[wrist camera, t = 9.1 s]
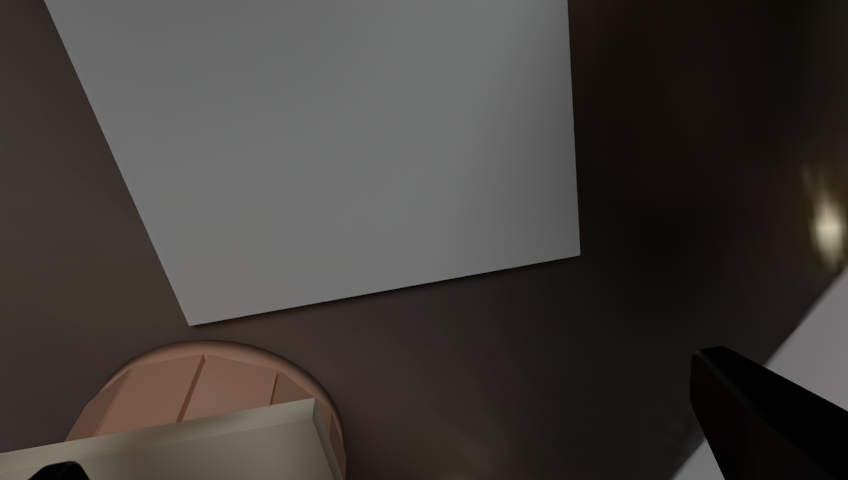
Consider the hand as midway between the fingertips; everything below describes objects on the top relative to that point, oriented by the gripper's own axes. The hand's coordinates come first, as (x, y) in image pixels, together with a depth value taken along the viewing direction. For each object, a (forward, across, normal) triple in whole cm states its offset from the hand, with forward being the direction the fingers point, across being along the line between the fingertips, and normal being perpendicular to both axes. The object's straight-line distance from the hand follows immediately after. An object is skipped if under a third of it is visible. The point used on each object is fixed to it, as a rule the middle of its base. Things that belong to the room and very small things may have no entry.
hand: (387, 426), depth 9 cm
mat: (+12, +1, -2) cm, 12 cm away
